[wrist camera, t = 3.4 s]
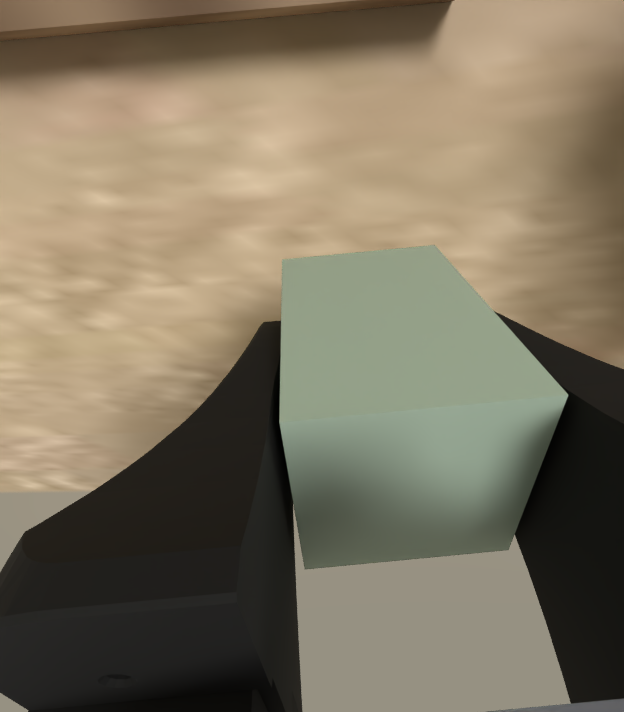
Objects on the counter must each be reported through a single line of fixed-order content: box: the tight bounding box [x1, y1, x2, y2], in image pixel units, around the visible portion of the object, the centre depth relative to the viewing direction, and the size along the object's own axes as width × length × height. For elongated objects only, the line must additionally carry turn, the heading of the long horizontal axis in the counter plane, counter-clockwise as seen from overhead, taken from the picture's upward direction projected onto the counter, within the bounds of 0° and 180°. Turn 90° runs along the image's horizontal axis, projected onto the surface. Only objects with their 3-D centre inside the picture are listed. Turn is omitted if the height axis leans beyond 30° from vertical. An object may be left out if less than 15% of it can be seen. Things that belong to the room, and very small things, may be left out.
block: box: [279, 245, 568, 569], centre depth 9 cm, size 4×4×6 cm
